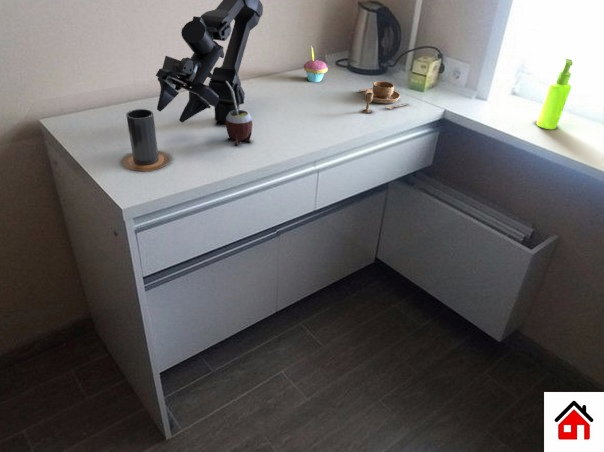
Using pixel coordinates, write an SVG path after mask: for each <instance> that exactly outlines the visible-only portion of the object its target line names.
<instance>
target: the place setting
mask: <svg viewBox="0 0 604 452" xmlns="http://www.w3.org/2000/svg"><path fill="white" fill-rule="evenodd" d="M394 89H395V85H394V83H391V82H389V81H384V80H380V81H375V82H374V83H373V85H372V88H367V89H363V88H361V89H358V91H359V92H361V93H364V102H365V103H366V105H365V109H362V113H364V114H372V110H371V109H370V103H372V102H373V103H376V104H386V105H387V104H393V103H396V102H398V101H399V100H400V98H401V94H400V92H398V91H396V90H394ZM407 105H408V104H407V103H405V104H398V105H393V106H385V108H386V109H389V110H392V109H393V108H397V107H404V106H407Z"/></svg>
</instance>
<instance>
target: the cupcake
mask: <svg viewBox="0 0 604 452" xmlns="http://www.w3.org/2000/svg"><path fill="white" fill-rule="evenodd" d="M310 52H311V53H310V54H311V59H310V60H307V61H306V62H305V63H304V64H303V70H304V71H305V73H306V76H307V80H308V81H309V82H311V83H319V82H321V81H322V79H323V77H324V75H325V73H327V72H328V64H326V62H324V61H323V60H320V59H315V55H314V48H313V46H312V45H310Z"/></svg>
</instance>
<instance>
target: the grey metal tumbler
mask: <svg viewBox="0 0 604 452" xmlns="http://www.w3.org/2000/svg"><path fill="white" fill-rule="evenodd" d="M125 118H126V123H127V130H128V136H129V142H130V149H131V154H132V155H133V161H134V163H136V164H138V165H151V164H154V163H156V162H157V161H158V160H159V156H158V151H159V148H158V140H157V134H156V133H157V132H156V126H155V125H156V124H155V116H154V112H153V111H152V110H151V109H147V108H139V109H138V108H137V109H132V110H129V111H128V112H126V114H125Z"/></svg>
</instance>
